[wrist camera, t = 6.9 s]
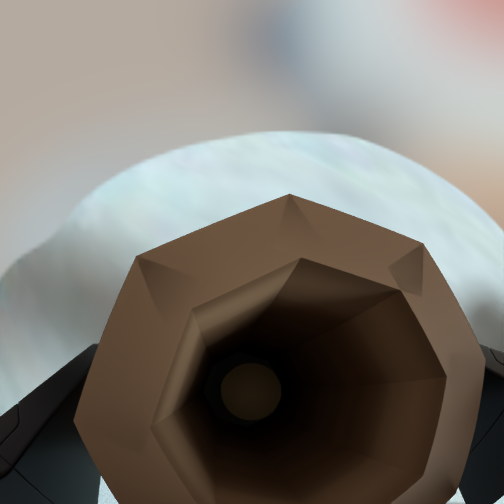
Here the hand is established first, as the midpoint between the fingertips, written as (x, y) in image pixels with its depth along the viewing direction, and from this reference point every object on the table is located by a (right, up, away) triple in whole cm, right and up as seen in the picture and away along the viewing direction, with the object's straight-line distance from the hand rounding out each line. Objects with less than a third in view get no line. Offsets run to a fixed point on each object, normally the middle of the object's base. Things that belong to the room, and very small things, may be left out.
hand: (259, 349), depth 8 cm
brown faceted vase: (-1, -5, +7) cm, 8 cm away
